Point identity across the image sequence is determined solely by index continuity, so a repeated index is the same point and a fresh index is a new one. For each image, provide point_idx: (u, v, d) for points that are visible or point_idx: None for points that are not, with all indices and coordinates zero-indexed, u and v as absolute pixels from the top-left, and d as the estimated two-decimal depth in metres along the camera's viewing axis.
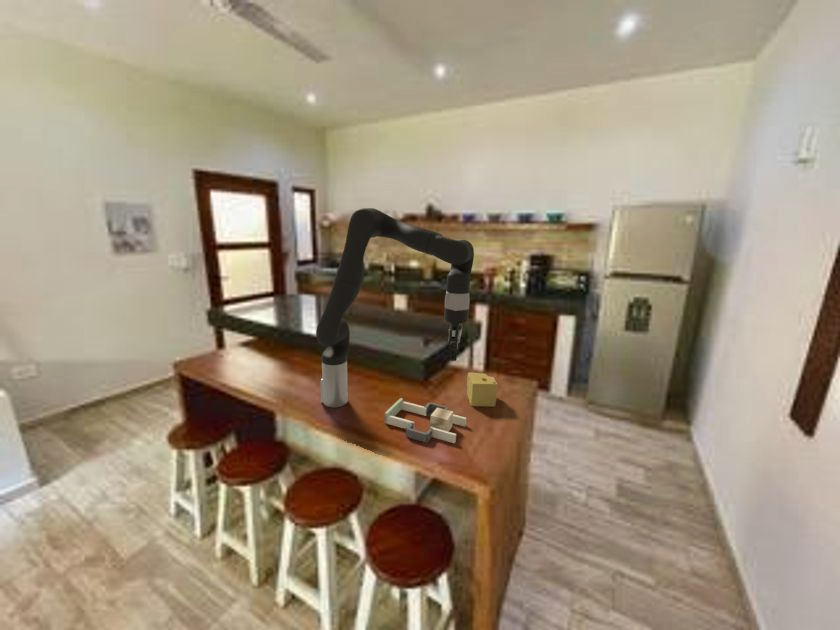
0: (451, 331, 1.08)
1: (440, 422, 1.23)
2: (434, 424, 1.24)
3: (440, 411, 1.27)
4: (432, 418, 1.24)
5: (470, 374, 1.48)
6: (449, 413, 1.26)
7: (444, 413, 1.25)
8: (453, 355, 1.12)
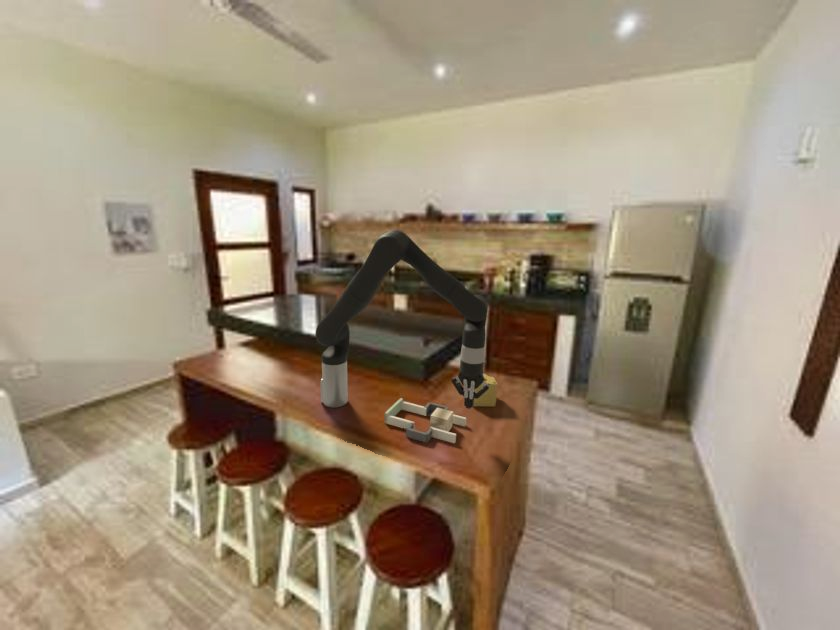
0: (488, 388, 1.15)
1: (440, 422, 1.23)
2: (434, 424, 1.24)
3: (440, 411, 1.27)
4: (432, 418, 1.24)
5: None
6: (449, 413, 1.26)
7: (444, 413, 1.25)
8: (473, 402, 1.20)
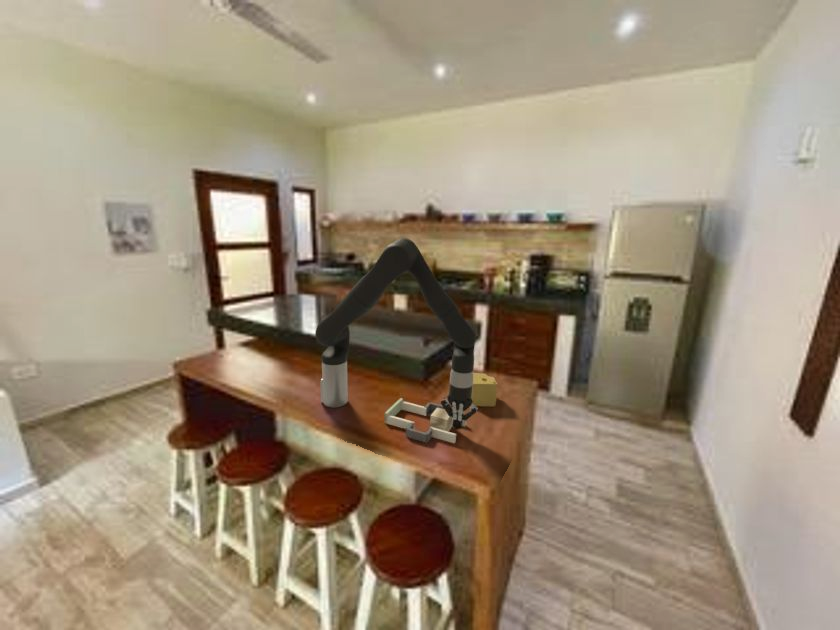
0: None
1: (440, 422, 1.23)
2: (434, 424, 1.24)
3: (440, 411, 1.27)
4: (432, 418, 1.24)
5: None
6: None
7: (444, 413, 1.25)
8: (461, 423, 1.23)
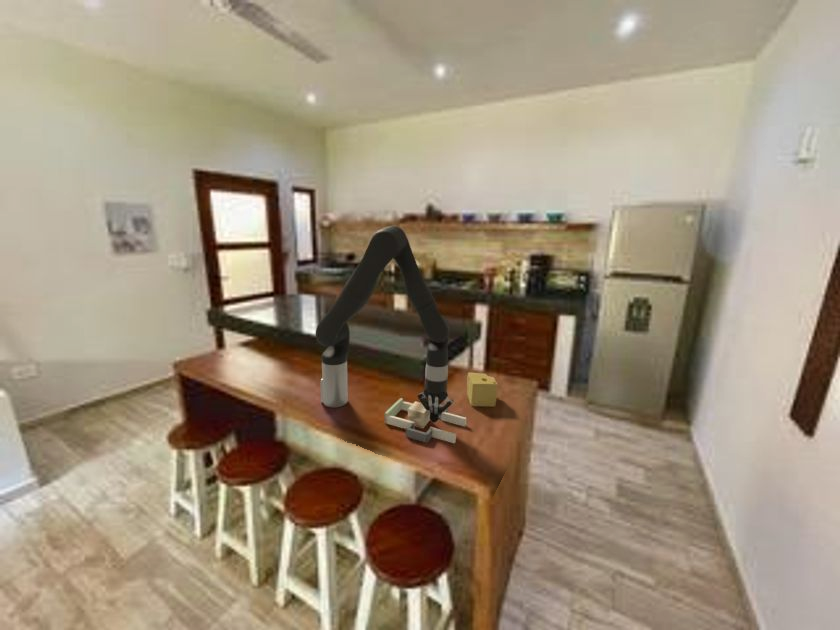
0: (451, 403, 1.22)
1: (417, 415, 1.26)
2: (411, 418, 1.28)
3: (418, 405, 1.30)
4: (409, 411, 1.27)
5: (470, 374, 1.48)
6: None
7: (421, 407, 1.29)
8: (438, 416, 1.27)
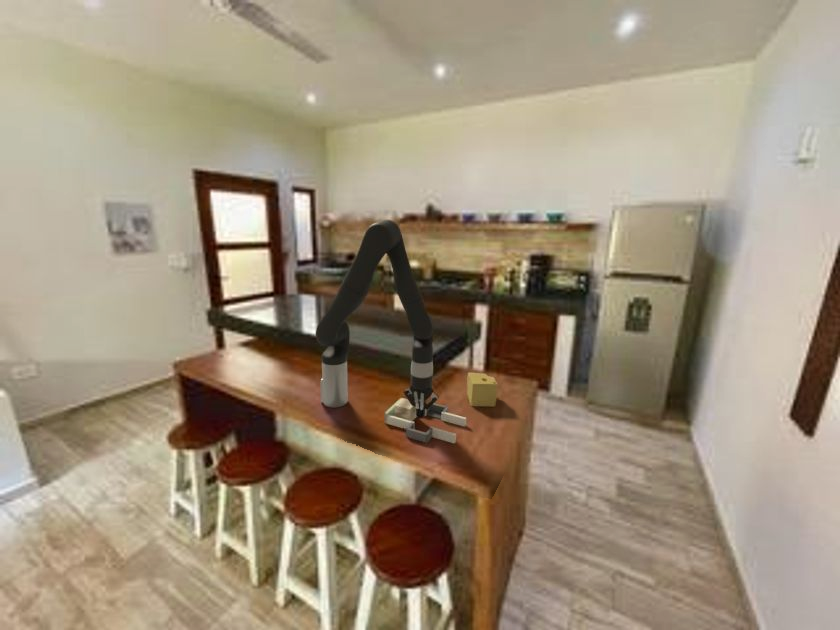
0: (436, 399, 1.24)
1: (404, 411, 1.28)
2: (398, 414, 1.30)
3: (404, 401, 1.32)
4: (396, 408, 1.29)
5: (470, 374, 1.48)
6: None
7: (407, 403, 1.31)
8: (424, 412, 1.29)
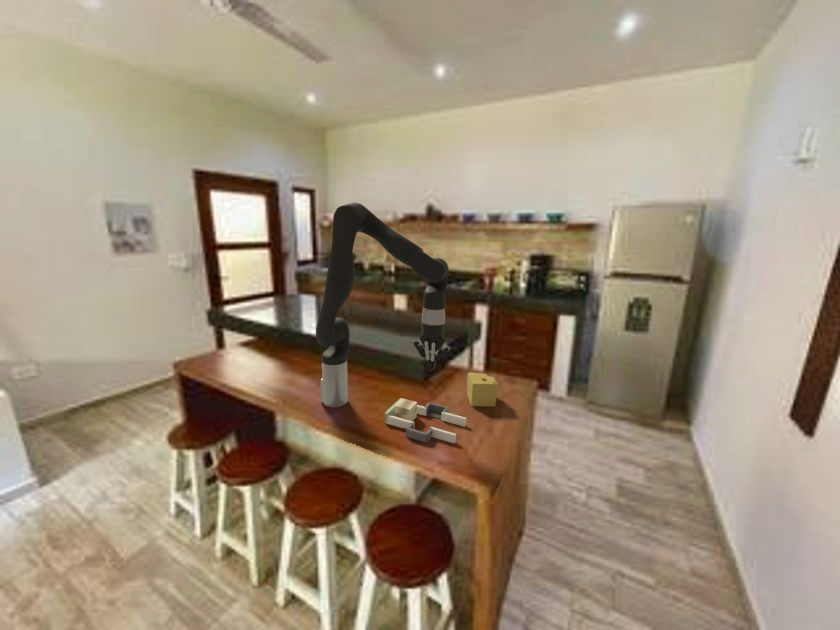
0: (448, 350, 1.18)
1: (404, 412, 1.28)
2: (398, 414, 1.30)
3: (404, 402, 1.32)
4: (396, 408, 1.29)
5: (470, 374, 1.48)
6: (413, 403, 1.31)
7: (408, 404, 1.31)
8: (434, 365, 1.23)
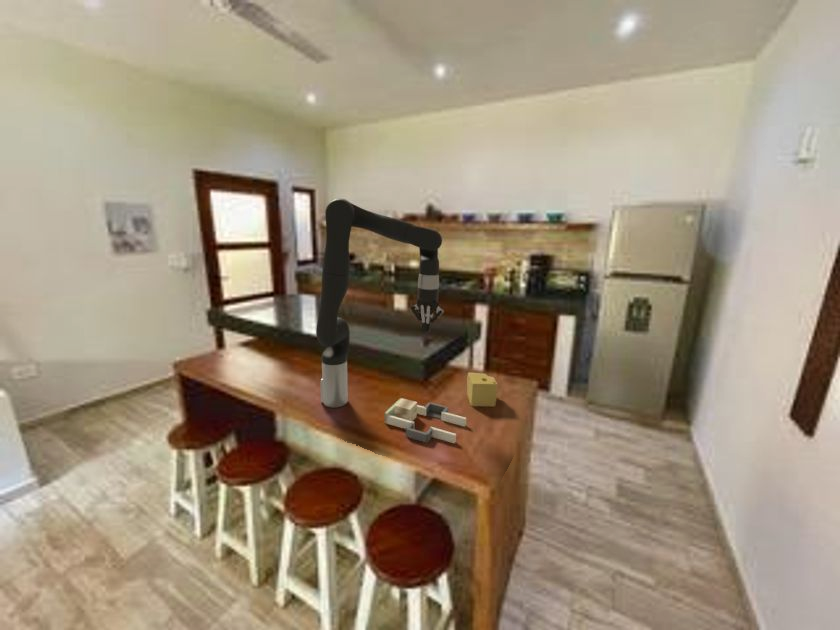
0: (442, 312, 1.31)
1: (404, 412, 1.28)
2: (398, 414, 1.30)
3: (404, 402, 1.32)
4: (396, 408, 1.29)
5: (470, 374, 1.48)
6: (413, 403, 1.31)
7: (407, 404, 1.31)
8: (430, 327, 1.36)
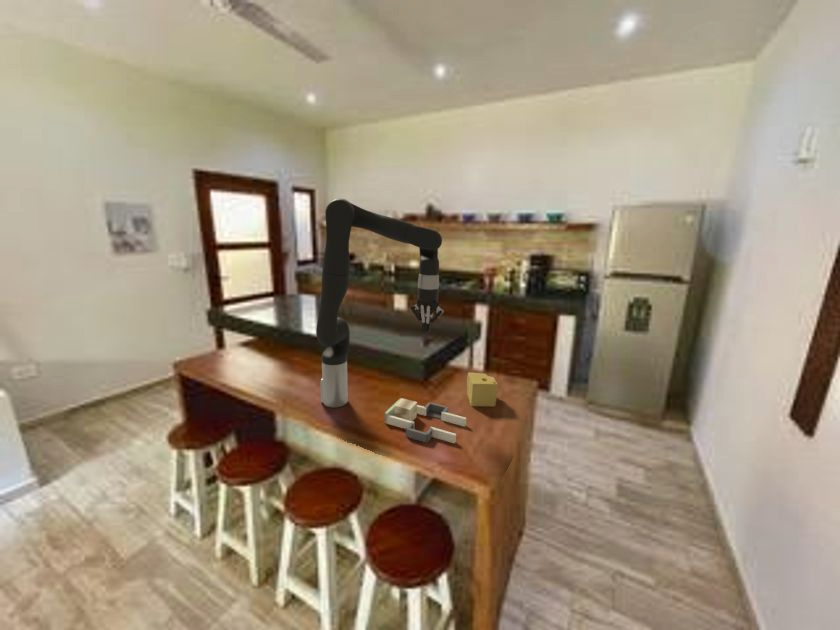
0: (442, 312, 1.31)
1: (404, 412, 1.28)
2: (398, 414, 1.30)
3: (404, 402, 1.32)
4: (396, 408, 1.29)
5: (470, 374, 1.48)
6: (413, 403, 1.31)
7: (408, 404, 1.31)
8: (430, 327, 1.36)
